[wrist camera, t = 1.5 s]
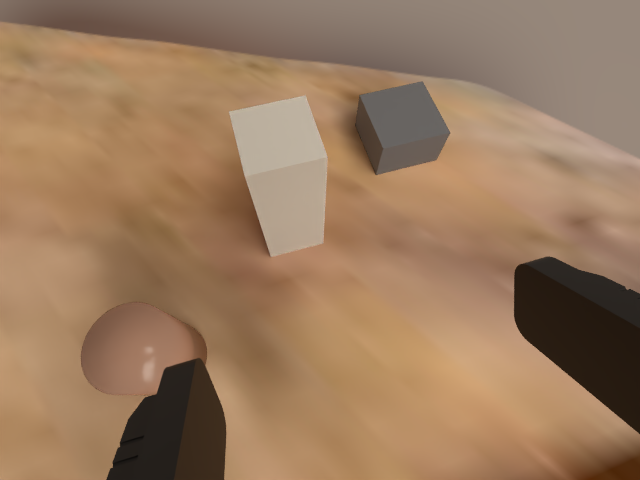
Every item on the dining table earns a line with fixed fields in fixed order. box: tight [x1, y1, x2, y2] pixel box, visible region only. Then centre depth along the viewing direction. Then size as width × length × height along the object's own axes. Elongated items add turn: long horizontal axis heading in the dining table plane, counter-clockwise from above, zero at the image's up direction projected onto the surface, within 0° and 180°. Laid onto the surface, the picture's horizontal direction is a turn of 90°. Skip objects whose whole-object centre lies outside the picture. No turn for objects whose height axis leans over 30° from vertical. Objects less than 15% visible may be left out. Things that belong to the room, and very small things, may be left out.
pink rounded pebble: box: [81, 302, 207, 395], centre depth 23 cm, size 5×5×7 cm
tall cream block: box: [229, 95, 328, 257], centre depth 25 cm, size 4×4×12 cm
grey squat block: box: [355, 81, 450, 175], centre depth 33 cm, size 6×6×4 cm
